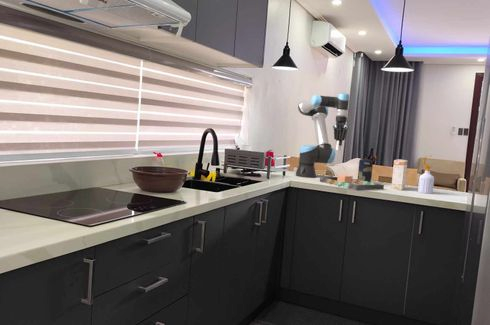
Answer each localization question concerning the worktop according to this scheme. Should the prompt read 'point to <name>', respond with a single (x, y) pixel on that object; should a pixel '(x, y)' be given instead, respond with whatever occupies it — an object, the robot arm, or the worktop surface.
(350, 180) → the block
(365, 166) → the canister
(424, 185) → the soap bottle
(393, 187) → the coffeecake box
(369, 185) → the trap channel
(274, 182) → the worktop surface
